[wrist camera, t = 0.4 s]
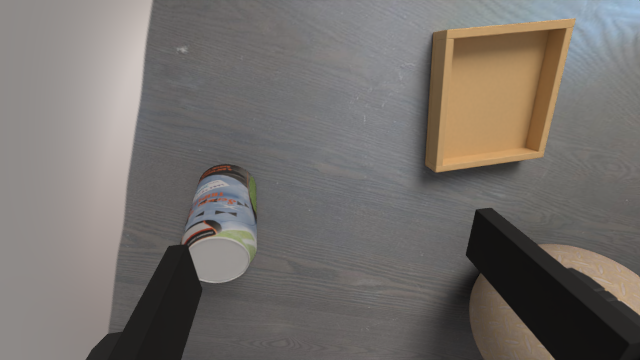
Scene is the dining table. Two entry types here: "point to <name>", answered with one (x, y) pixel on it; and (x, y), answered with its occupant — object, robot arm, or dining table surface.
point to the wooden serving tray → (494, 92)
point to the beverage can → (222, 224)
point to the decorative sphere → (508, 329)
